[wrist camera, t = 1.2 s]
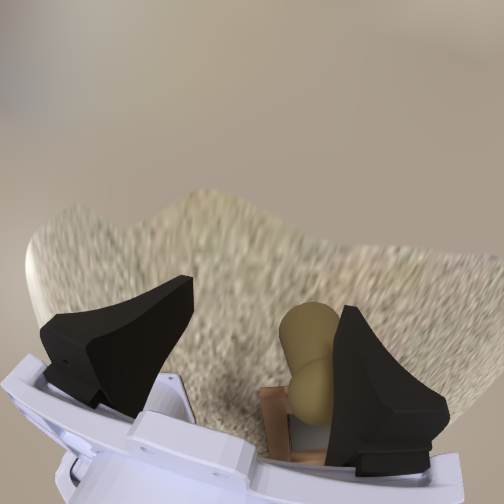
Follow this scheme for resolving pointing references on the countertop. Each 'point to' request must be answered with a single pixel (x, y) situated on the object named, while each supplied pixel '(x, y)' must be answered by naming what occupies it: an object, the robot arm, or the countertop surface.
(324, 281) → the countertop surface
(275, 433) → the holder
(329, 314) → the cork
